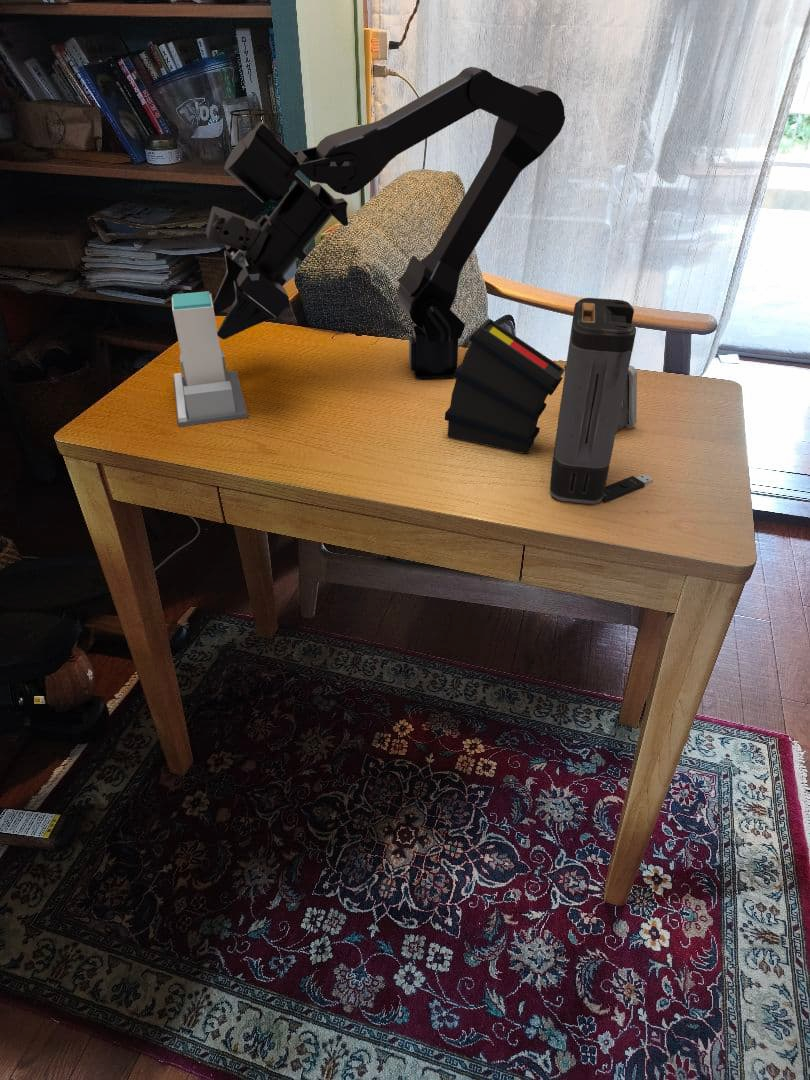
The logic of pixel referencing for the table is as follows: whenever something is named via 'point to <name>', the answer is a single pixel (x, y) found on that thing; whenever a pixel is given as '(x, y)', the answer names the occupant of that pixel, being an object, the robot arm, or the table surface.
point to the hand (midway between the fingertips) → (216, 323)
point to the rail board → (209, 399)
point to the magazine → (500, 390)
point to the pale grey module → (198, 338)
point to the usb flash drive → (625, 487)
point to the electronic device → (591, 398)
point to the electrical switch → (628, 401)
